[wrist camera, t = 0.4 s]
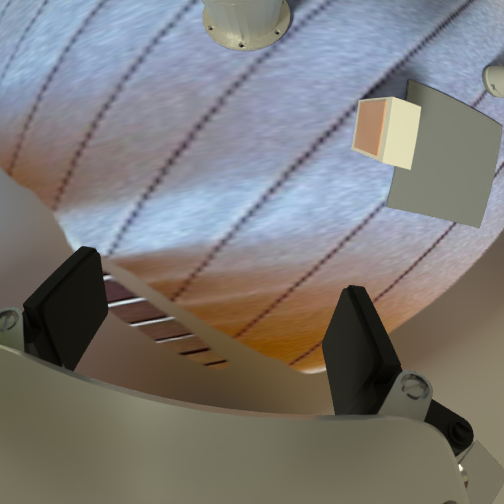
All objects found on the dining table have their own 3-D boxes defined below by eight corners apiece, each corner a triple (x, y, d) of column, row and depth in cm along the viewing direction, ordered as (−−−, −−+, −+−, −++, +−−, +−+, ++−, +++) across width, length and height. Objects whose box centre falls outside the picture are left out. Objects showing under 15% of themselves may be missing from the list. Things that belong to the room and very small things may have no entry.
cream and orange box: (357, 99, 36) (391, 96, 25) (382, 106, 36) (421, 106, 25) (350, 149, 39) (380, 162, 29) (374, 154, 39) (410, 169, 29)
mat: (408, 79, 33) (409, 79, 33) (500, 126, 34) (502, 126, 33) (385, 206, 43) (387, 207, 43) (478, 227, 44) (479, 228, 43)
